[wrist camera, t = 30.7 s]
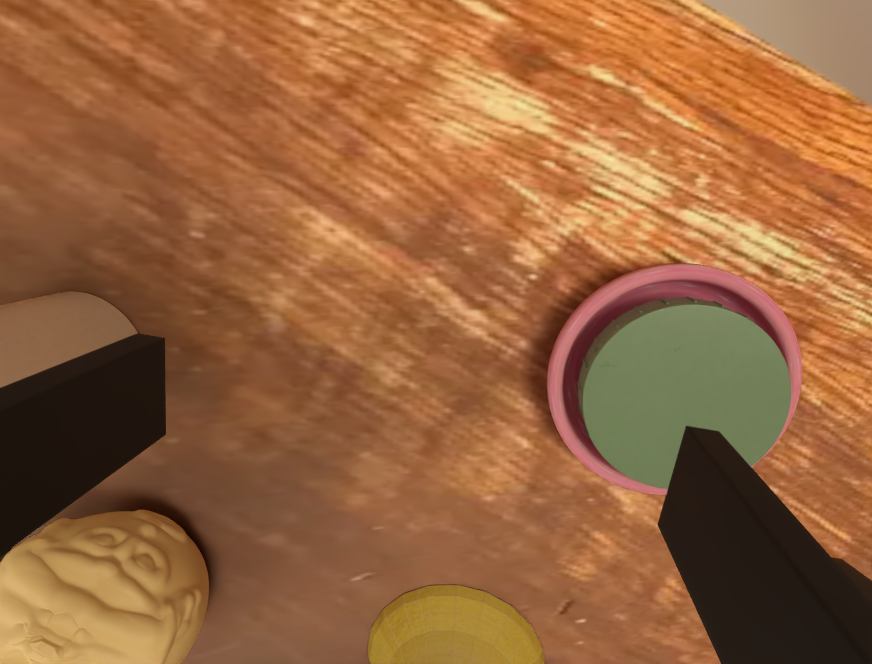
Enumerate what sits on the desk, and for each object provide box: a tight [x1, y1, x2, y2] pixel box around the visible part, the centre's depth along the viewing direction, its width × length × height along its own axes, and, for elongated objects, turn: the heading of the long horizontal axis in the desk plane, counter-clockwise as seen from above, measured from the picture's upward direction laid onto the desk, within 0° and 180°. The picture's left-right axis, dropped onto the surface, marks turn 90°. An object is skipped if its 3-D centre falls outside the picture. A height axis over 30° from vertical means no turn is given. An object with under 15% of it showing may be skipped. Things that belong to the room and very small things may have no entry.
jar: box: [0, 291, 138, 388], centre depth 29 cm, size 9×9×12 cm
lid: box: [577, 296, 791, 489], centre depth 26 cm, size 10×10×2 cm
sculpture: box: [0, 510, 209, 664], centre depth 33 cm, size 12×12×11 cm
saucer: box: [547, 263, 802, 495], centre depth 29 cm, size 12×12×3 cm
